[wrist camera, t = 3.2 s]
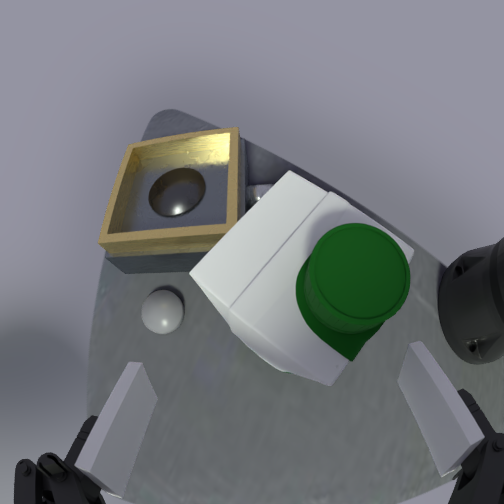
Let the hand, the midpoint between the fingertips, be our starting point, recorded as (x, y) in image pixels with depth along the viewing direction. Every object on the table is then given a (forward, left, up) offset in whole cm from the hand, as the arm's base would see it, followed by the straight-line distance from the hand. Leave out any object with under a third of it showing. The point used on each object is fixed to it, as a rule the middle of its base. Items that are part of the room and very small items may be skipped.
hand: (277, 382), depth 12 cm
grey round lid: (+12, -7, -16) cm, 21 cm away
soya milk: (-2, -5, -16) cm, 17 cm away
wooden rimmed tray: (+9, -20, -16) cm, 27 cm away
